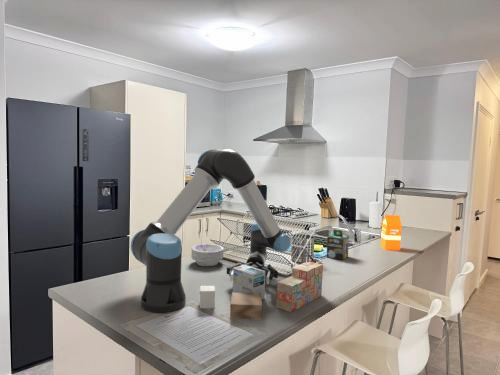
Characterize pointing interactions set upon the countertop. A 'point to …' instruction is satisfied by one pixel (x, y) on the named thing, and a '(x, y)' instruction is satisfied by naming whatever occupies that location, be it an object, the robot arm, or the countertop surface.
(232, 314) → the walnut block
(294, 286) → the stack of blocks
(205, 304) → the off-white block
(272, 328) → the countertop surface
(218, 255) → the paper bowls
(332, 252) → the chalk box
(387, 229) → the orange juice
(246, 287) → the light bulb box
